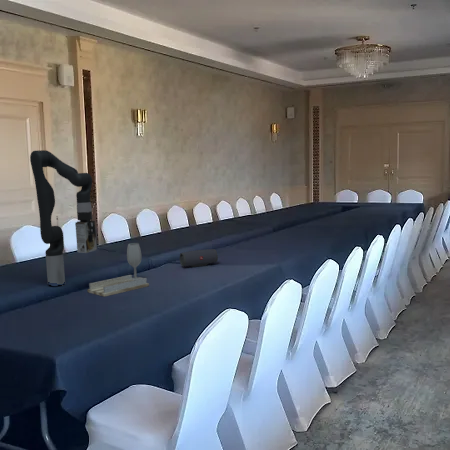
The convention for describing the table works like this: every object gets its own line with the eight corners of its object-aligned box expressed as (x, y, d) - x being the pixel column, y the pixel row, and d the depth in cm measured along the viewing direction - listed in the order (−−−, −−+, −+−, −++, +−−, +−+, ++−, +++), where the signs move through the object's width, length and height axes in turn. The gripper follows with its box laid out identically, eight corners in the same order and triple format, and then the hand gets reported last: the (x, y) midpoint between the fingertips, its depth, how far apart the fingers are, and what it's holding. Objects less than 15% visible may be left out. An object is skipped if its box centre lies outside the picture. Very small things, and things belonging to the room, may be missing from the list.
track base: (87, 292, 292) (87, 283, 292) (131, 282, 312) (131, 274, 311) (104, 296, 281) (103, 288, 280) (148, 286, 300) (148, 277, 300)
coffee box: (87, 249, 301) (85, 220, 299) (97, 250, 299) (95, 220, 297) (76, 252, 293) (74, 222, 291) (86, 253, 291) (84, 222, 289)
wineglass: (143, 281, 312) (141, 244, 310) (127, 282, 311) (125, 245, 308) (143, 278, 321) (141, 242, 318) (128, 279, 319) (125, 243, 317)
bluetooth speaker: (184, 269, 341) (183, 253, 340) (179, 266, 350) (178, 251, 349) (218, 264, 350) (217, 249, 349) (212, 262, 359) (212, 247, 358)
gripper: (71, 211, 296) (73, 241, 298) (85, 212, 286) (87, 243, 288) (83, 209, 301) (85, 239, 303) (97, 210, 291) (99, 241, 293)
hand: (86, 241), depth 295 cm, fingers closed on coffee box, 8 cm apart
